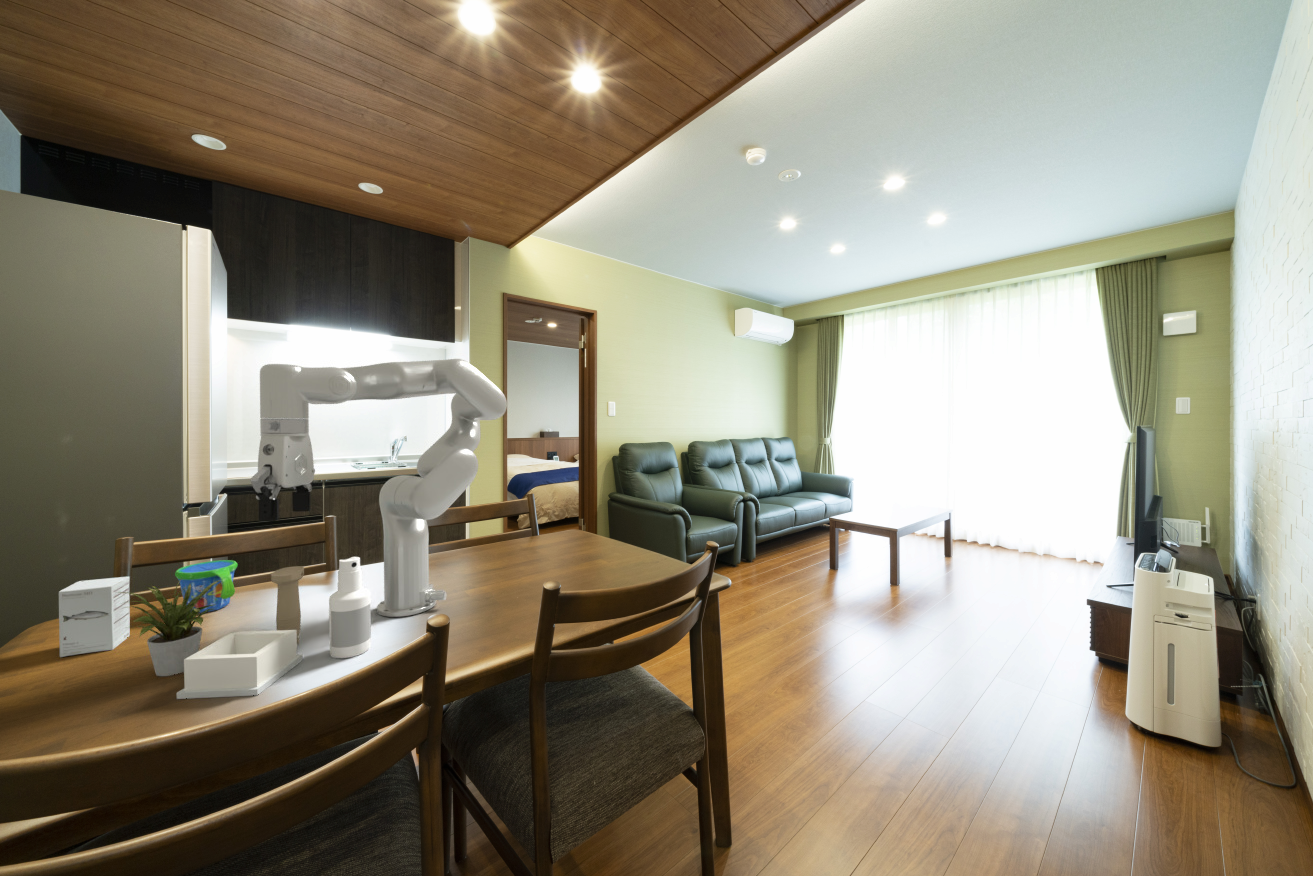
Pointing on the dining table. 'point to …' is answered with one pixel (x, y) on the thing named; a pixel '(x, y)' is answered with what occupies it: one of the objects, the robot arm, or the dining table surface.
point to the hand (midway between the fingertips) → (286, 515)
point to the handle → (288, 598)
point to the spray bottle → (349, 612)
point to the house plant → (172, 630)
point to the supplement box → (93, 615)
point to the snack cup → (208, 583)
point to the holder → (240, 664)
